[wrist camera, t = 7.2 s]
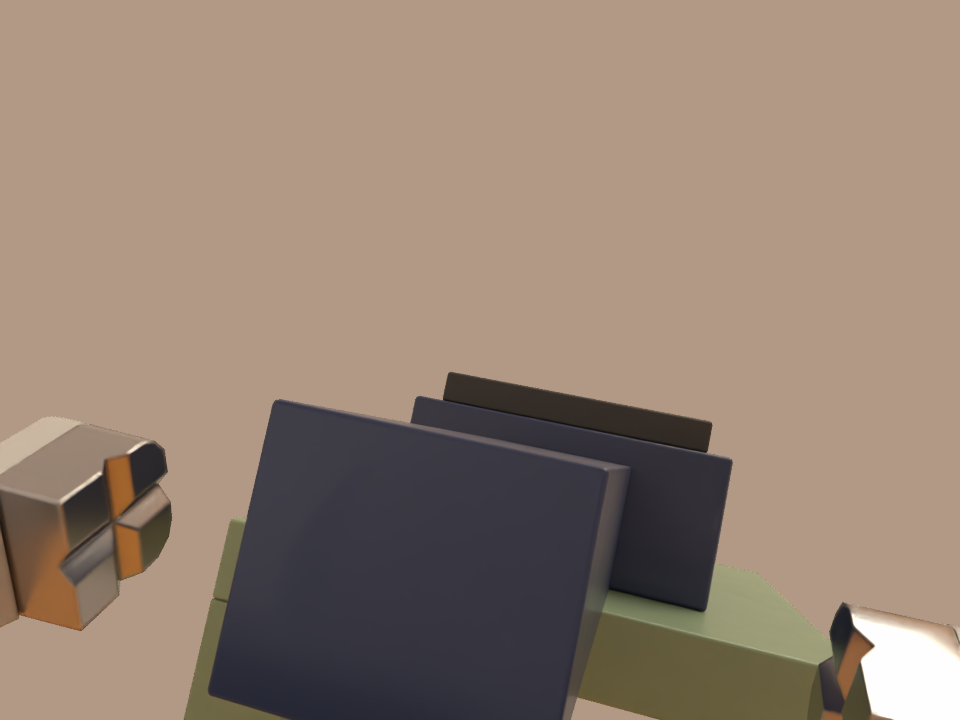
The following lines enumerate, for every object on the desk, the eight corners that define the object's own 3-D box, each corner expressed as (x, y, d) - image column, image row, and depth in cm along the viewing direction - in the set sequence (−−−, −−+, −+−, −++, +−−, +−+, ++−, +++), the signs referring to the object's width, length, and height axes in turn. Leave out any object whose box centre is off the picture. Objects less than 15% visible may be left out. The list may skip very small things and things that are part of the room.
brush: (818, 883, 6) (905, 353, 6) (7, 636, 7) (111, 222, 8) (684, 562, 25) (707, 439, 26) (470, 512, 27) (493, 397, 27)
